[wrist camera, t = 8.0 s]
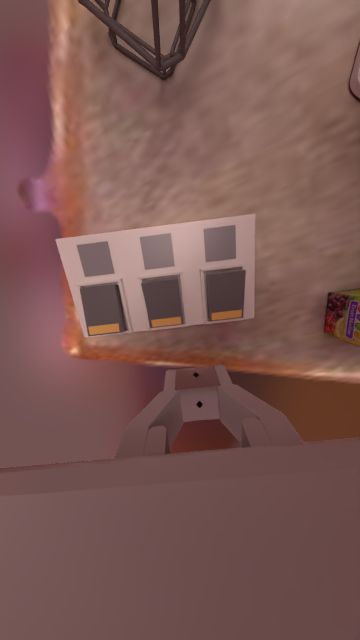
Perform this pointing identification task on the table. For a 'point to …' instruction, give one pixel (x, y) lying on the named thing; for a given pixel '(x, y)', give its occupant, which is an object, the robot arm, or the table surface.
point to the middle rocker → (163, 301)
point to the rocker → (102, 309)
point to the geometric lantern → (132, 40)
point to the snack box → (344, 316)
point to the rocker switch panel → (162, 265)
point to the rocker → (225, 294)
